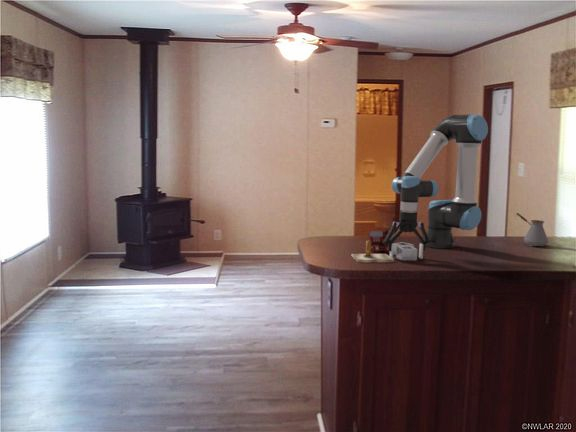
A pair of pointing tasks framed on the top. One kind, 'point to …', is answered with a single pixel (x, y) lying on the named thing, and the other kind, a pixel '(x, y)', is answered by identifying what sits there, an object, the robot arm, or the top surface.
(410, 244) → the white block with hole
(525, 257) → the top surface
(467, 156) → the robot arm
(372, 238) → the toy fire truck
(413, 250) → the white square box
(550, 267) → the top surface
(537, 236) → the coffee pot
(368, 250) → the keeper
